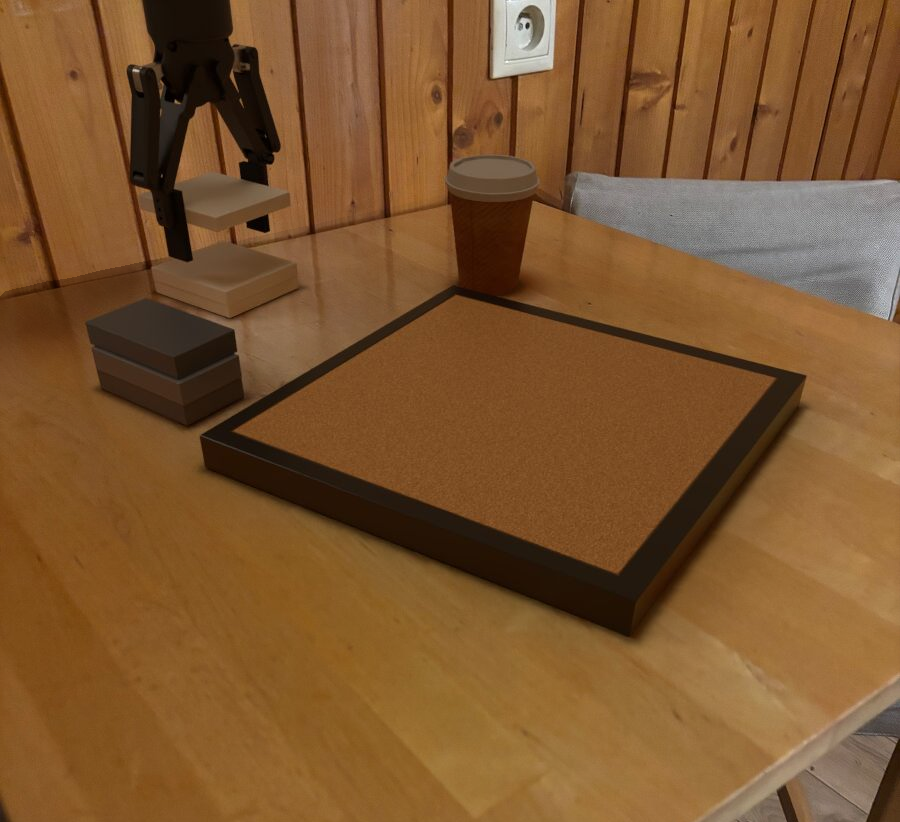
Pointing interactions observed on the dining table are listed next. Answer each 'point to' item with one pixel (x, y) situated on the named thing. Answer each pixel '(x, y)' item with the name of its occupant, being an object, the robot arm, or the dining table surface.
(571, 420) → the cork board
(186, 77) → the robot arm
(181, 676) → the dining table surface
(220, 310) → the beige square block
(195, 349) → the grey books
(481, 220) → the disposable coffee cup
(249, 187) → the beige flat slab
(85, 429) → the dining table surface
